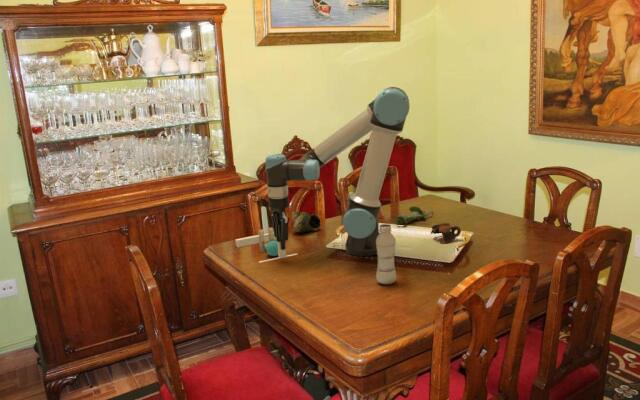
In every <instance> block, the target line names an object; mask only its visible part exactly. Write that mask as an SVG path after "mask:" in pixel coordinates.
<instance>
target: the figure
mask: <svg viewBox="0 0 640 400" xmlns="http://www.w3.org/2000/svg"><path fill="white" fill-rule="evenodd" d="M408 210H409V211H410V214H405V215H404V213H403V212H399V213H398V215H400V216H397V217H396V219H395V224H396V226H397V225H406V222H407V223H411V222H412V221H414V220H416V219H418V218H419V220H421V221H425V220H427V217H429V216H430V215H432V216H433V215H434V210H430V211H429V212H425V209H421V208H420V207H419V206H414V205H413V206H410V207H409V208H408Z"/></svg>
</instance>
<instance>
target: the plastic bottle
mask: <svg viewBox="0 0 640 400" xmlns="http://www.w3.org/2000/svg"><path fill="white" fill-rule="evenodd" d="M379 233H380V234H379V235H378V237H377V238H376V247H377V254H376V255H377V266H376V267H377V269H376V275H375V277H376V281H377V283H379V284H380V285H392V284H393V283H395V281H396V278H397V272H396V267H395V250H396V244H397V243H396V237H395V236H394V234H393V233H392V226H391V224H389V223H388V224H387V223H384V224H380V225H379Z"/></svg>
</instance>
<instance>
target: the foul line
mask: <svg viewBox="0 0 640 400" xmlns="http://www.w3.org/2000/svg"><path fill="white" fill-rule="evenodd" d="M286 256H287V257H283V258H282V259H285V258H288V257H293V256H298V253H297V252H296V253H292V254H286ZM279 259H280V260H281V258H279V257H278V256H277V257H274V258H269V259H265V260H260V261H258V263H259V264H262V263H266V262H270V261H274V260H279Z"/></svg>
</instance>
